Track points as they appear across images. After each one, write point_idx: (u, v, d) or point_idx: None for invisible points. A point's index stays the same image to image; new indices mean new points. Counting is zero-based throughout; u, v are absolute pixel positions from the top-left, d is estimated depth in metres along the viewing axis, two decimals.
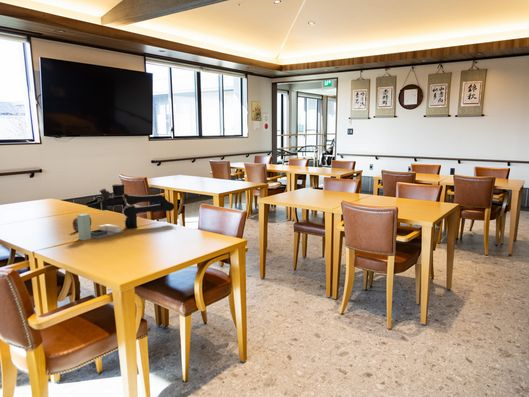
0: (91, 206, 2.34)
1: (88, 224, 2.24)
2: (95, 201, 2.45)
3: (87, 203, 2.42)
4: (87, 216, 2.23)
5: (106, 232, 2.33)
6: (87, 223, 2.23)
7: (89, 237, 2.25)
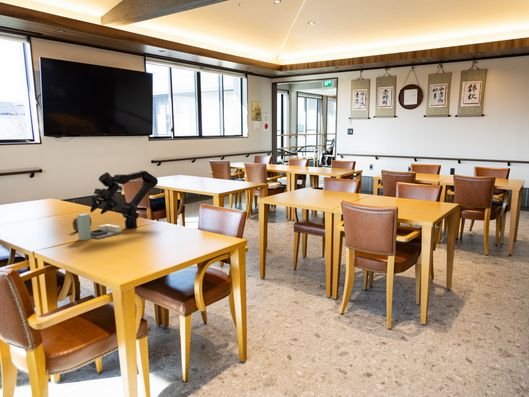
0: (104, 211, 2.28)
1: (88, 224, 2.24)
2: (95, 203, 2.35)
3: (92, 210, 2.33)
4: (87, 216, 2.23)
5: (106, 232, 2.33)
6: (87, 223, 2.23)
7: (89, 237, 2.25)
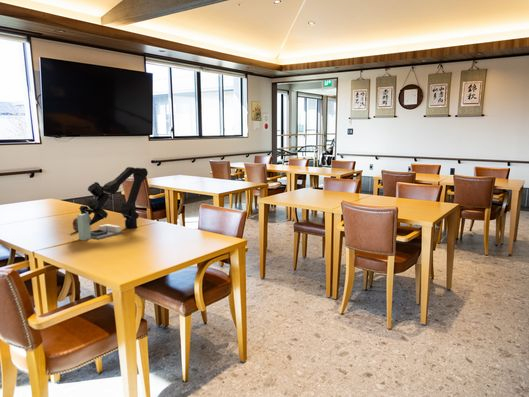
0: (93, 222, 2.23)
1: (88, 224, 2.24)
2: None
3: None
4: (87, 216, 2.23)
5: (106, 232, 2.33)
6: (87, 223, 2.23)
7: (89, 237, 2.25)
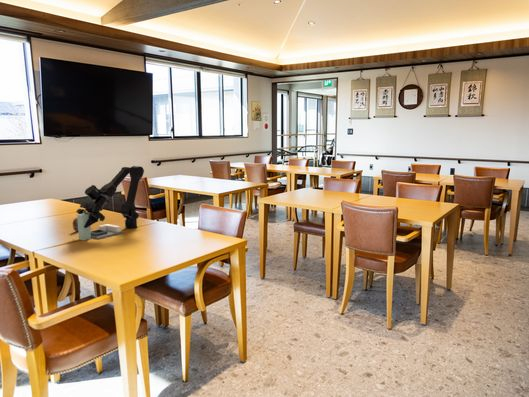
0: (88, 225, 2.22)
1: None
2: None
3: None
4: (87, 216, 2.23)
5: (106, 232, 2.33)
6: None
7: (89, 237, 2.25)
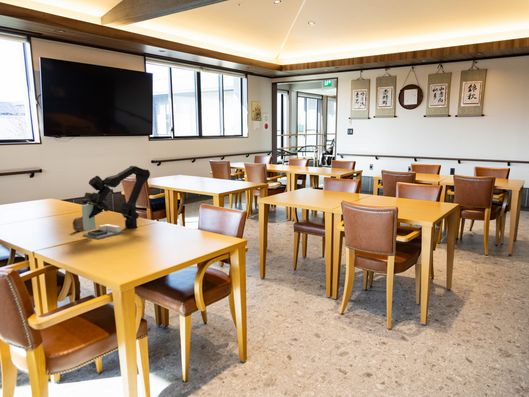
0: (92, 215, 2.24)
1: None
2: None
3: None
4: (91, 206, 2.24)
5: (106, 232, 2.33)
6: None
7: (94, 227, 2.27)
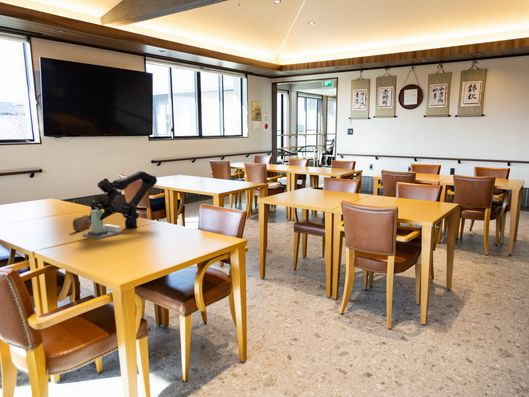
0: (103, 217, 2.28)
1: None
2: (94, 209, 2.34)
3: None
4: (100, 212, 2.30)
5: (106, 232, 2.33)
6: None
7: None
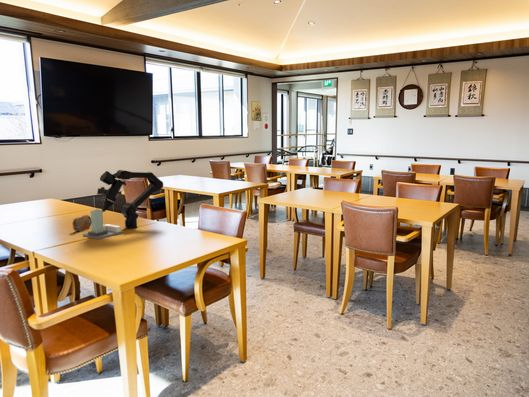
0: (105, 208, 2.34)
1: (101, 219, 2.31)
2: None
3: (102, 210, 2.42)
4: (100, 212, 2.30)
5: (106, 232, 2.33)
6: (100, 219, 2.30)
7: None
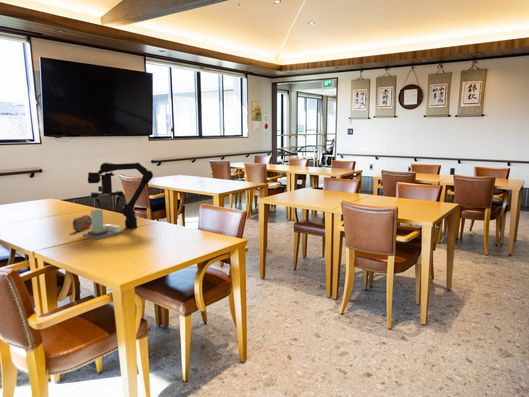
0: (98, 205, 2.44)
1: (101, 219, 2.31)
2: None
3: (115, 205, 2.49)
4: (100, 212, 2.30)
5: (106, 232, 2.33)
6: (100, 219, 2.30)
7: None
